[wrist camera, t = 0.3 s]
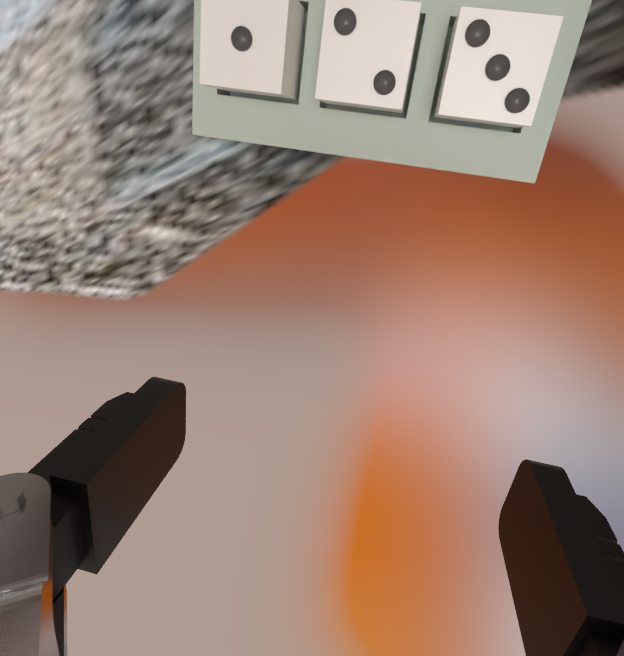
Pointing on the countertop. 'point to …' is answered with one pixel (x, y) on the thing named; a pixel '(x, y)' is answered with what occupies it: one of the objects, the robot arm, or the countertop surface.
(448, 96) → the tile three
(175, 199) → the countertop surface
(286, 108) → the tap board
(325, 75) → the tile two
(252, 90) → the tile one
